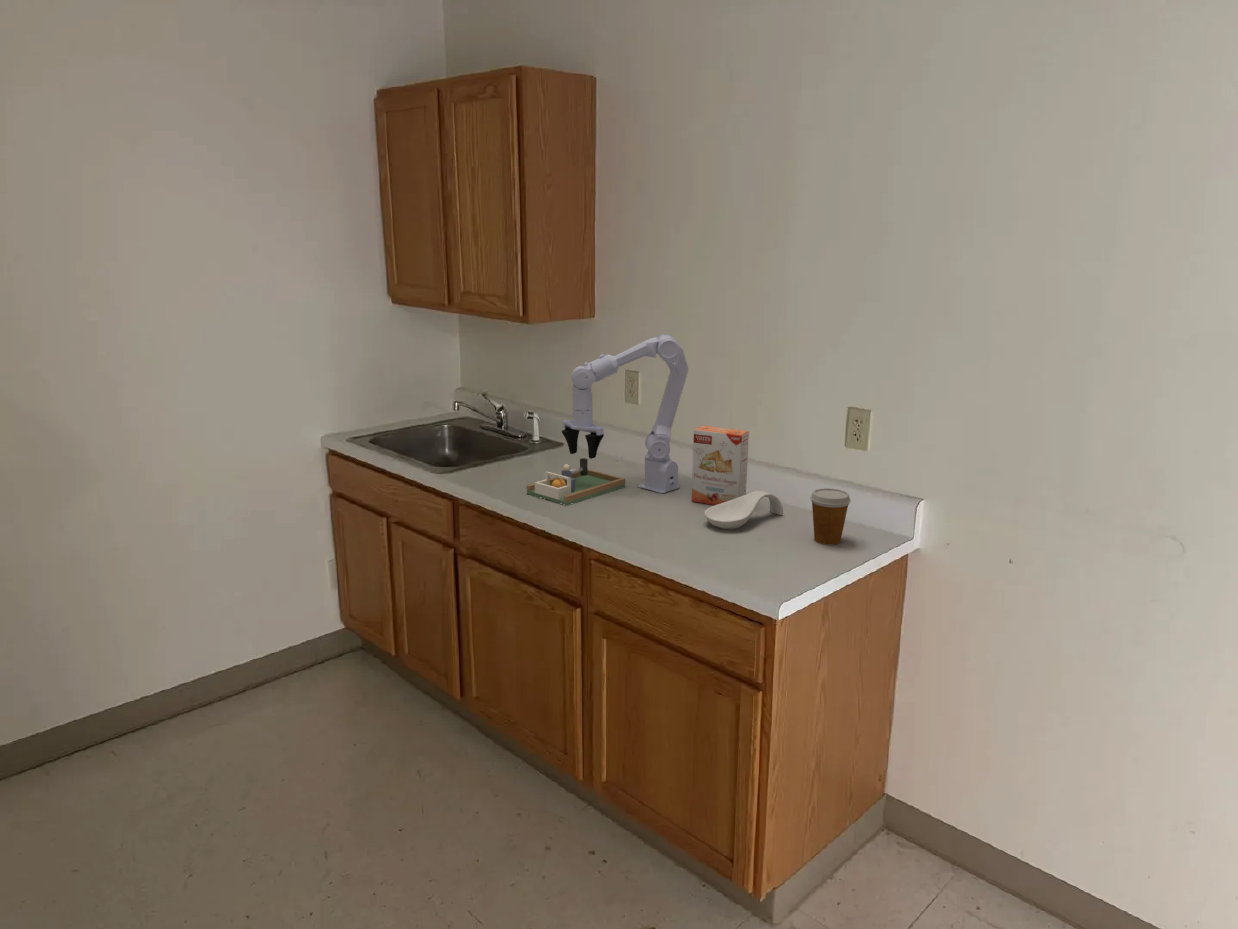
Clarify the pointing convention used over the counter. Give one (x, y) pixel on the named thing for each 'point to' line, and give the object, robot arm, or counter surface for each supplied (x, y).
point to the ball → (558, 483)
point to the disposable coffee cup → (829, 514)
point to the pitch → (576, 487)
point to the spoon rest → (740, 510)
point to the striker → (575, 471)
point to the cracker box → (719, 464)
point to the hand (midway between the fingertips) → (582, 455)
